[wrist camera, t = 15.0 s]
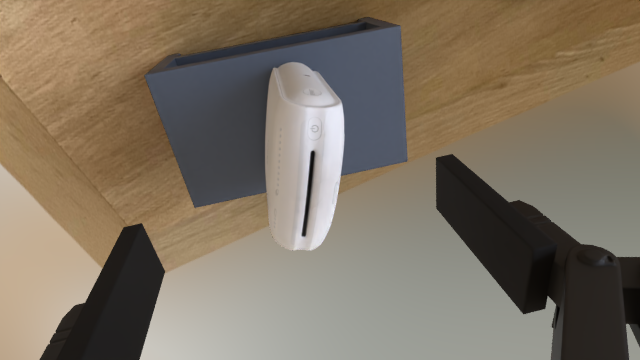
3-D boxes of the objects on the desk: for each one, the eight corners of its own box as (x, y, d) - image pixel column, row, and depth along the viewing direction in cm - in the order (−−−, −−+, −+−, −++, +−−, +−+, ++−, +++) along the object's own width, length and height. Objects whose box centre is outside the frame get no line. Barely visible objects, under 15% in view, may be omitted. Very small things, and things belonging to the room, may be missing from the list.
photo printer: (267, 57, 29) (276, 100, 18) (322, 62, 30) (361, 106, 19) (261, 177, 33) (266, 268, 23) (309, 178, 34) (335, 267, 23)
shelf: (205, 166, 42) (194, 208, 34) (167, 55, 36) (143, 75, 28) (379, 129, 43) (407, 161, 35) (369, 16, 37) (400, 25, 29)
